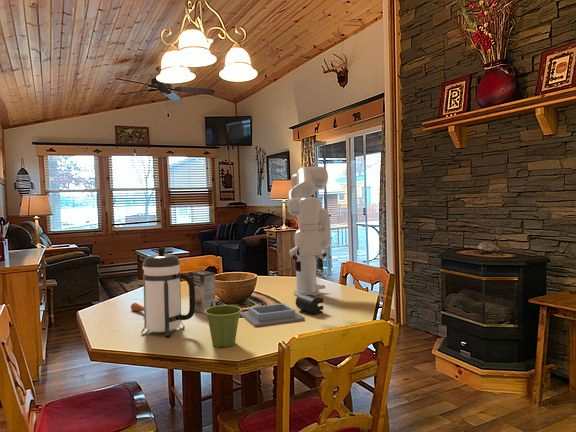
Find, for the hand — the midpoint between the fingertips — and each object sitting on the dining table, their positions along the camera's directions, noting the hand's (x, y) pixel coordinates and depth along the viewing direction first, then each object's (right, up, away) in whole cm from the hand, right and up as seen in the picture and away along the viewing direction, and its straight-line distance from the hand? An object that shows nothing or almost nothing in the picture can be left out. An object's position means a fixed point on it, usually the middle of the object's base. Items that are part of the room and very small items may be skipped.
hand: (309, 270), depth 177 cm
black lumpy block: (0, -18, +1) cm, 18 cm away
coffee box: (-44, -18, +5) cm, 48 cm away
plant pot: (-29, -20, -37) cm, 51 cm away
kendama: (-67, -18, 0) cm, 69 cm away
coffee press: (-51, -19, -23) cm, 60 cm away
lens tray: (-15, -18, -7) cm, 24 cm away
